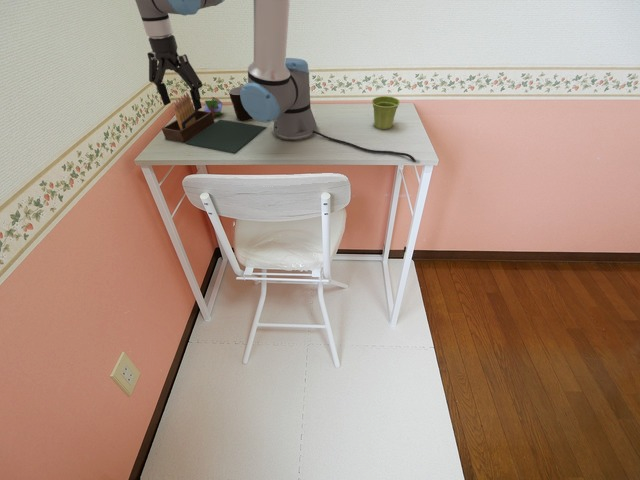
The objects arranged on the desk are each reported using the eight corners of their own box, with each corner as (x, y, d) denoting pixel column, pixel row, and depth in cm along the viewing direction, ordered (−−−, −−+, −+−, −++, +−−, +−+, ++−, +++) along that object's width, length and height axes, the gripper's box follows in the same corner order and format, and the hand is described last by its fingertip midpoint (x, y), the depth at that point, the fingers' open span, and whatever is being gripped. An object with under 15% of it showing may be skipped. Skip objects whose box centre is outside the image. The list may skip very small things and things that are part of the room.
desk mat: (265, 127, 120) (265, 126, 119) (234, 153, 106) (234, 152, 106) (220, 120, 126) (220, 119, 125) (185, 144, 112) (185, 142, 112)
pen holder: (214, 122, 124) (211, 112, 122) (184, 143, 113) (180, 131, 110) (197, 119, 127) (193, 109, 124) (165, 139, 116) (161, 128, 113)
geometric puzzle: (219, 115, 124) (218, 93, 123) (201, 116, 124) (200, 94, 123) (225, 120, 131) (224, 99, 130) (208, 120, 131) (207, 100, 130)
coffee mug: (253, 122, 123) (248, 95, 116) (231, 121, 124) (225, 94, 118) (261, 110, 132) (257, 83, 125) (241, 109, 133) (236, 83, 126)
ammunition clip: (186, 137, 116) (174, 103, 108) (181, 137, 116) (169, 102, 108) (200, 124, 124) (190, 91, 115) (195, 124, 124) (185, 91, 116)
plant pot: (399, 122, 119) (403, 98, 113) (392, 133, 113) (395, 108, 107) (374, 118, 122) (376, 94, 116) (366, 129, 116) (368, 104, 110)
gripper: (202, 35, 98) (219, 107, 113) (139, 30, 106) (162, 97, 120) (185, 41, 93) (205, 115, 108) (120, 35, 101) (147, 105, 115)
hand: (182, 106), depth 114 cm, fingers open, 13 cm apart
